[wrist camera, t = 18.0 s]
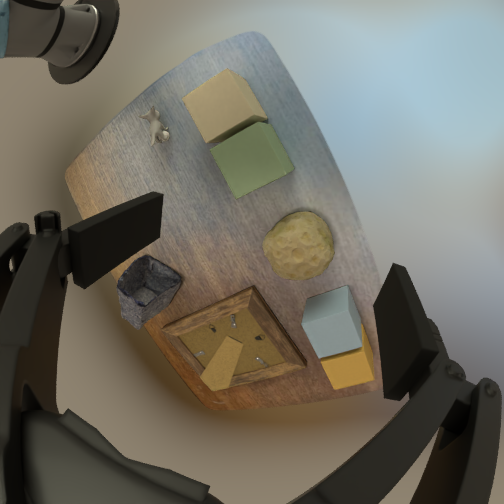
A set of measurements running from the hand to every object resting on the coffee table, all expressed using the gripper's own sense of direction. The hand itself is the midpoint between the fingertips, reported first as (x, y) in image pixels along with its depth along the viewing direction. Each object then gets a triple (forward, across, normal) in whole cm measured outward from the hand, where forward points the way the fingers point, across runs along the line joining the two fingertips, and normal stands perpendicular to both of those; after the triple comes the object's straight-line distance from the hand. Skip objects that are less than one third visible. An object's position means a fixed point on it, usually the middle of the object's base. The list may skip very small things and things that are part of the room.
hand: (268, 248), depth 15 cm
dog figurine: (+26, -24, +3) cm, 35 cm away
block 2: (+26, -7, +1) cm, 27 cm away
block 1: (+26, -12, +7) cm, 30 cm away
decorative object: (+26, +1, -9) cm, 27 cm away
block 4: (+25, +15, -25) cm, 38 cm away
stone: (+26, -21, -25) cm, 42 cm away
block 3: (+26, +10, -19) cm, 33 cm away
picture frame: (+26, -5, -34) cm, 43 cm away
